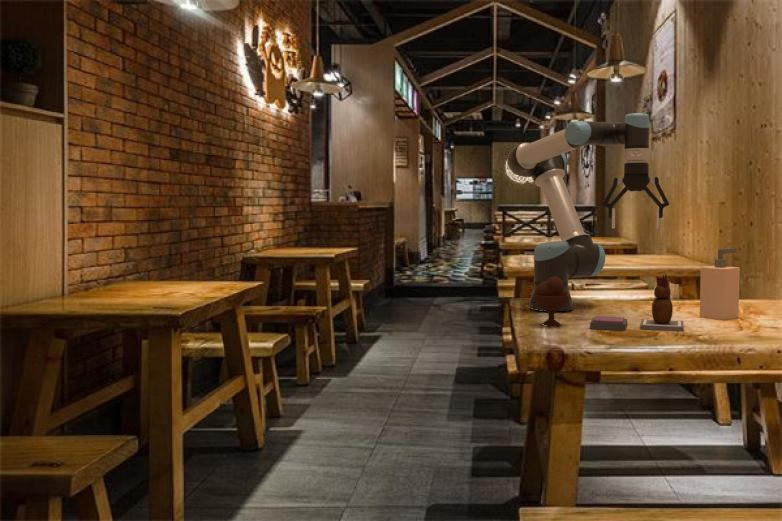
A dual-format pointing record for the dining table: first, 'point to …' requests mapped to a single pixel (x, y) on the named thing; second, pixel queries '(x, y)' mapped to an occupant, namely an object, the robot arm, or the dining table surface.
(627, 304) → the dining table surface
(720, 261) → the soap dispenser
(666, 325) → the marked board
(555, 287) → the ice cream bowl
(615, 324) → the ink pad
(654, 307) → the wooden figurine
